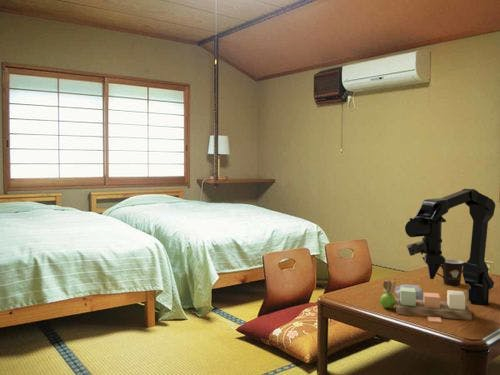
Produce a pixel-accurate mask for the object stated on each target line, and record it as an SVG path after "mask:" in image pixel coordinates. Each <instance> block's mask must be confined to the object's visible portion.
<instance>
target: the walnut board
mask: <svg viewBox="0 0 500 375" xmlns="http://www.w3.org/2000/svg"><path fill="white" fill-rule="evenodd" d="M395 299H396V303H395V305H394V307H395V311H396V312H395V313H396V314H397V315H406V316H407V315H408V316H417V317H419V316H420V317H438V318H441V319H455V320H456V319H457V320H469V321H472V319H473V318H472V317H473V315H472V313H473V312H472V311H471V309H470V308H469V307H468V305H467V304H466V302H465V310H462V309H449V307H448V305H447V301H442V300H440V308H433V307H424V306H423V300H417V299H416V306H410V305H401V303H400V298H398V297H395Z"/></svg>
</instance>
